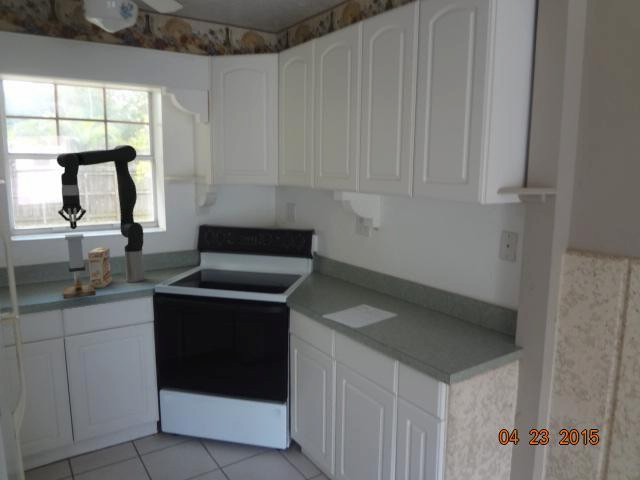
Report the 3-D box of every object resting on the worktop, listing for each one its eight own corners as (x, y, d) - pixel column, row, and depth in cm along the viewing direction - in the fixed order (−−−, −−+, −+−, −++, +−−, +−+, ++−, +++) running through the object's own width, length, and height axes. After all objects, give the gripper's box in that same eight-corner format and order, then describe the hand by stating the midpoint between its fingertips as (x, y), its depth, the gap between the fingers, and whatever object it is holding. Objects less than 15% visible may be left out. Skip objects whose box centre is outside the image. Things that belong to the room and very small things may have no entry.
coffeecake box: (104, 287, 247) (101, 251, 243) (90, 288, 245) (87, 252, 242) (112, 281, 261) (109, 247, 258) (99, 281, 260) (96, 247, 257)
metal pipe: (82, 288, 238) (79, 255, 235) (82, 289, 235) (80, 257, 232) (74, 289, 236) (71, 256, 233) (74, 290, 233) (72, 257, 230)
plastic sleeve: (85, 264, 239) (82, 233, 236) (86, 267, 232) (83, 236, 230) (67, 266, 235) (65, 235, 233) (67, 269, 228) (65, 237, 226)
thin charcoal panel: (84, 267, 239) (84, 264, 238) (85, 270, 232) (85, 267, 232) (68, 269, 235) (68, 266, 235) (69, 272, 229) (68, 269, 229)
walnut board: (93, 288, 245) (93, 284, 245) (95, 294, 233) (94, 290, 233) (63, 291, 238) (63, 288, 238) (63, 298, 226) (63, 294, 226)
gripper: (85, 193, 234) (88, 227, 237) (55, 194, 228) (58, 229, 231) (86, 194, 228) (88, 229, 231) (55, 195, 221) (58, 230, 224)
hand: (73, 229), depth 231 cm, fingers closed
